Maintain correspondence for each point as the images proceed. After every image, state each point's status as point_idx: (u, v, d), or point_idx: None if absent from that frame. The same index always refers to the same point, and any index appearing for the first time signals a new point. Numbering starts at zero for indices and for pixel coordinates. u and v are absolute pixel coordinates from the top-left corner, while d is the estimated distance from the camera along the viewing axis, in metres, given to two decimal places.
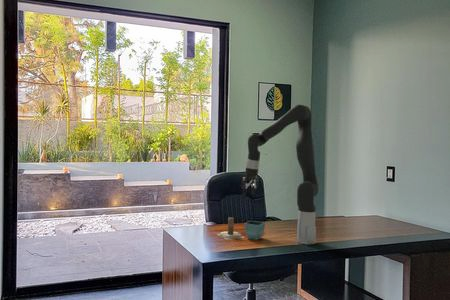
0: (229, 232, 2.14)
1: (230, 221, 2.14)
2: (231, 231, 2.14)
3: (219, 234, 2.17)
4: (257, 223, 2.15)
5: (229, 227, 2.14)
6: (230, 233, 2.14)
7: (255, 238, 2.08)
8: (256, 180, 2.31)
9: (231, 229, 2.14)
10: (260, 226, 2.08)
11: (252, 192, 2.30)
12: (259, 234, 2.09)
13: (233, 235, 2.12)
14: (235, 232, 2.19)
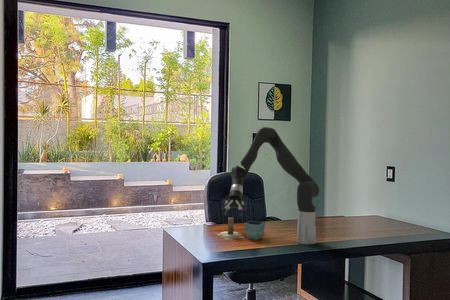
0: (229, 232, 2.14)
1: (230, 221, 2.14)
2: (231, 231, 2.14)
3: (219, 234, 2.17)
4: (257, 223, 2.15)
5: (229, 227, 2.14)
6: (230, 233, 2.14)
7: (255, 238, 2.08)
8: (243, 203, 2.25)
9: (231, 229, 2.14)
10: (260, 226, 2.08)
11: None
12: (259, 234, 2.09)
13: (233, 235, 2.12)
14: (235, 232, 2.19)
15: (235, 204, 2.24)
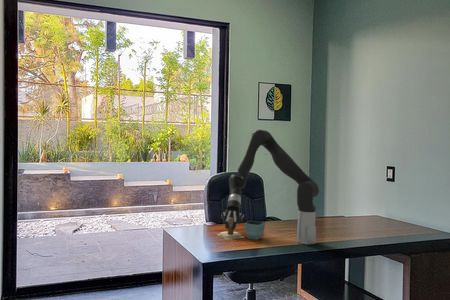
0: (229, 232, 2.14)
1: (230, 221, 2.14)
2: (231, 231, 2.14)
3: (219, 234, 2.17)
4: (257, 223, 2.15)
5: (229, 227, 2.14)
6: (230, 233, 2.14)
7: (255, 238, 2.08)
8: (240, 215, 2.18)
9: (231, 229, 2.14)
10: (260, 226, 2.08)
11: (233, 226, 2.14)
12: (259, 234, 2.09)
13: (233, 235, 2.12)
14: (235, 232, 2.19)
15: (232, 214, 2.18)
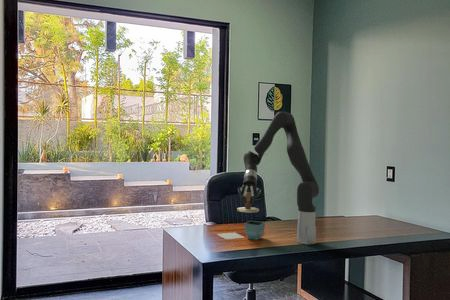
0: (247, 207, 2.11)
1: (247, 195, 2.11)
2: (249, 206, 2.11)
3: (219, 234, 2.17)
4: (257, 223, 2.15)
5: (247, 202, 2.11)
6: (248, 208, 2.11)
7: (255, 238, 2.08)
8: (257, 190, 2.15)
9: (249, 204, 2.11)
10: (260, 226, 2.08)
11: None
12: (259, 234, 2.09)
13: (251, 209, 2.09)
14: (252, 207, 2.16)
15: (249, 189, 2.15)
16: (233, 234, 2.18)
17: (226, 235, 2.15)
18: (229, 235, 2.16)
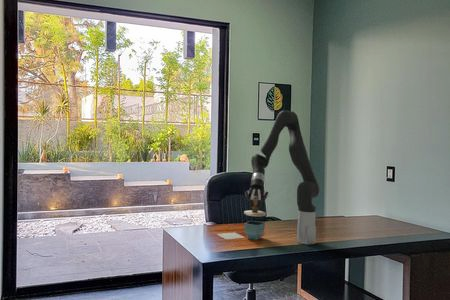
0: (254, 210, 2.10)
1: (255, 199, 2.10)
2: (256, 209, 2.10)
3: (219, 234, 2.17)
4: (257, 223, 2.15)
5: (254, 205, 2.10)
6: (255, 211, 2.10)
7: (255, 238, 2.08)
8: (264, 193, 2.14)
9: (256, 207, 2.10)
10: (260, 226, 2.08)
11: None
12: (259, 234, 2.09)
13: (258, 213, 2.09)
14: (259, 211, 2.16)
15: (256, 193, 2.15)
16: (233, 234, 2.18)
17: (226, 235, 2.15)
18: (229, 235, 2.16)
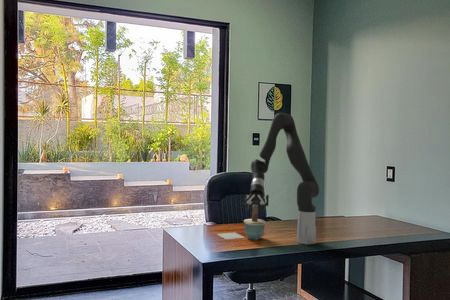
0: (253, 219, 2.10)
1: (254, 208, 2.10)
2: (255, 218, 2.10)
3: (219, 234, 2.17)
4: None
5: (253, 214, 2.10)
6: (254, 220, 2.10)
7: (255, 238, 2.08)
8: (265, 198, 2.15)
9: (255, 216, 2.10)
10: (260, 226, 2.08)
11: (262, 209, 2.11)
12: (259, 234, 2.09)
13: (258, 222, 2.08)
14: (259, 219, 2.16)
15: (257, 199, 2.14)
16: (233, 234, 2.18)
17: (226, 235, 2.15)
18: (229, 235, 2.16)
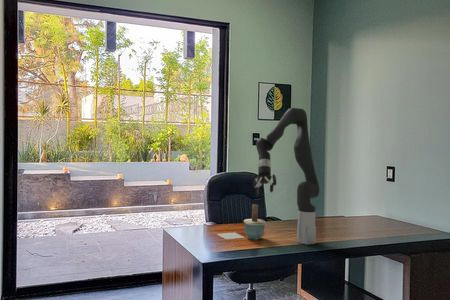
0: (253, 219, 2.10)
1: (254, 208, 2.10)
2: (255, 218, 2.10)
3: (219, 234, 2.17)
4: None
5: (253, 214, 2.10)
6: (254, 220, 2.10)
7: (255, 238, 2.08)
8: (272, 177, 2.25)
9: (255, 216, 2.10)
10: (260, 226, 2.08)
11: None
12: (259, 234, 2.09)
13: (258, 222, 2.08)
14: (259, 219, 2.16)
15: (265, 180, 2.26)
16: (233, 234, 2.18)
17: (226, 235, 2.15)
18: (229, 235, 2.16)
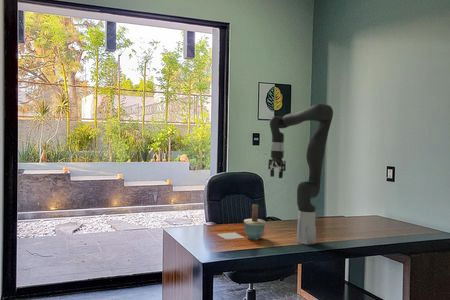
0: (253, 219, 2.10)
1: (254, 208, 2.10)
2: (255, 218, 2.10)
3: (219, 234, 2.17)
4: None
5: (253, 214, 2.10)
6: (254, 220, 2.10)
7: (255, 238, 2.08)
8: (281, 163, 2.22)
9: (255, 216, 2.10)
10: (260, 226, 2.08)
11: None
12: (259, 234, 2.09)
13: (258, 222, 2.08)
14: (259, 219, 2.16)
15: (276, 165, 2.26)
16: (233, 234, 2.18)
17: (226, 235, 2.15)
18: (229, 235, 2.16)
